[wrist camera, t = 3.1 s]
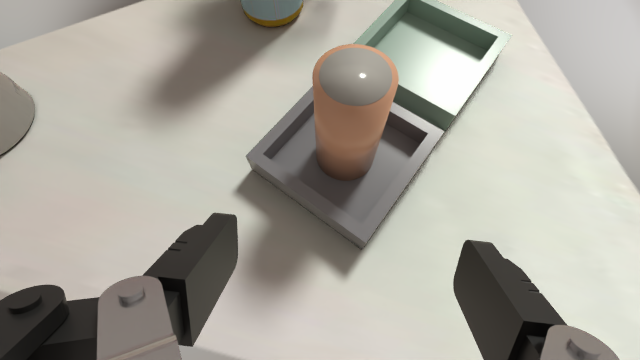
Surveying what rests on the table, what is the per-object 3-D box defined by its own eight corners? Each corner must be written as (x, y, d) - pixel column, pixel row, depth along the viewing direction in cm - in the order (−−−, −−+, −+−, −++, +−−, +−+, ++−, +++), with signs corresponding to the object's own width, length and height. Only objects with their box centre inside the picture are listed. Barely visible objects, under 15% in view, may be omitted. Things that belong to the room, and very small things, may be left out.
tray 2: (445, 131, 30) (455, 115, 27) (342, 72, 33) (343, 53, 30) (499, 54, 33) (512, 35, 31) (402, 7, 36) (407, -13, 34)
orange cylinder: (352, 192, 27) (367, 126, 17) (304, 159, 28) (294, 81, 19) (385, 149, 28) (415, 68, 19) (338, 120, 30) (345, 31, 20)
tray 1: (362, 249, 25) (365, 243, 23) (252, 168, 28) (245, 156, 26) (434, 146, 29) (444, 131, 27) (330, 84, 32) (331, 66, 30)
